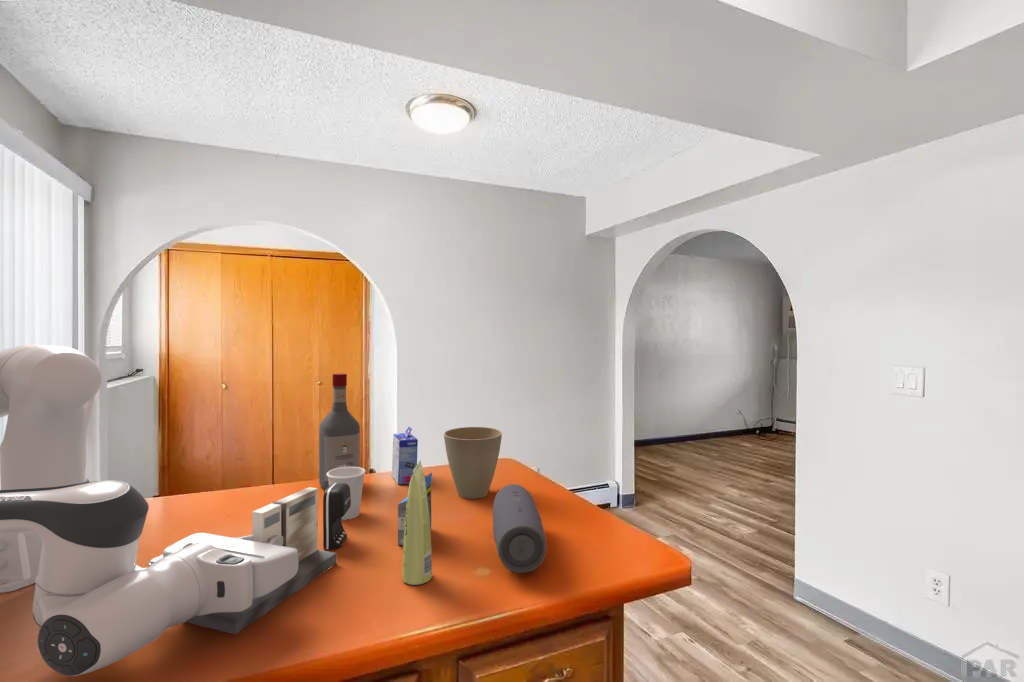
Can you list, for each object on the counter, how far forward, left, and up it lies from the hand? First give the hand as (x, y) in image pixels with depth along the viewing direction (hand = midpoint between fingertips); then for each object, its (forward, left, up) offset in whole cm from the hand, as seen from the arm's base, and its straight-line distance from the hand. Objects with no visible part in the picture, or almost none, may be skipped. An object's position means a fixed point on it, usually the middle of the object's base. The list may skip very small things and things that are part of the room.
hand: (271, 538), depth 83 cm
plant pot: (+39, +39, -8) cm, 56 cm away
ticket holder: (0, -1, -8) cm, 8 cm away
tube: (+24, -2, -8) cm, 25 cm away
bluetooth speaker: (+43, +5, -8) cm, 44 cm away
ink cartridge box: (+22, +55, -8) cm, 60 cm away
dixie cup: (+9, +30, -8) cm, 33 cm away
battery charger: (+9, +15, -8) cm, 19 cm away
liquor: (+5, +52, -8) cm, 53 cm away
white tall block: (0, -1, -6) cm, 6 cm away
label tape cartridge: (+24, +15, -8) cm, 29 cm away
